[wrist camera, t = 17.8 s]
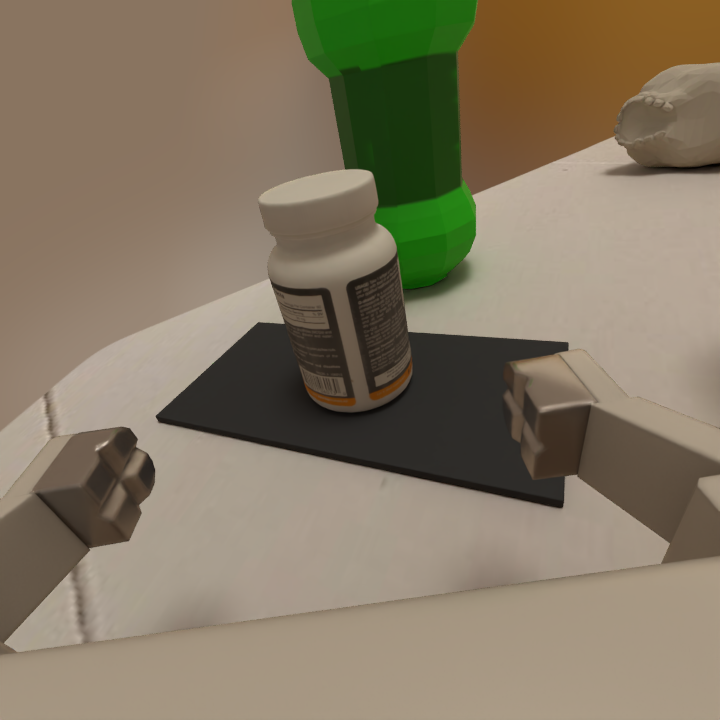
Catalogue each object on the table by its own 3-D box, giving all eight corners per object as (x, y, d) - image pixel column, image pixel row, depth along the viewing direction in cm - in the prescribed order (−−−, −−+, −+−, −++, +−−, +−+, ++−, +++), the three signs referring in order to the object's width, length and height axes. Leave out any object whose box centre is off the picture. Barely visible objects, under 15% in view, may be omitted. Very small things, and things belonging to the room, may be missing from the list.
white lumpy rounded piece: (599, 169, 45) (687, 155, 50) (711, 179, 36) (804, 161, 41) (621, 70, 41) (715, 65, 46) (755, 53, 32) (854, 50, 37)
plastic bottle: (325, 286, 34) (210, -192, 20) (413, 242, 38) (372, -167, 24) (416, 320, 27) (339, -383, 13) (509, 260, 32) (528, -294, 18)
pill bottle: (392, 340, 24) (364, 159, 19) (431, 396, 20) (409, 177, 14) (299, 368, 24) (242, 188, 18) (317, 433, 19) (247, 218, 13)
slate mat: (158, 421, 23) (154, 416, 22) (259, 326, 30) (258, 322, 30) (562, 508, 14) (564, 501, 14) (567, 348, 22) (568, 341, 21)
